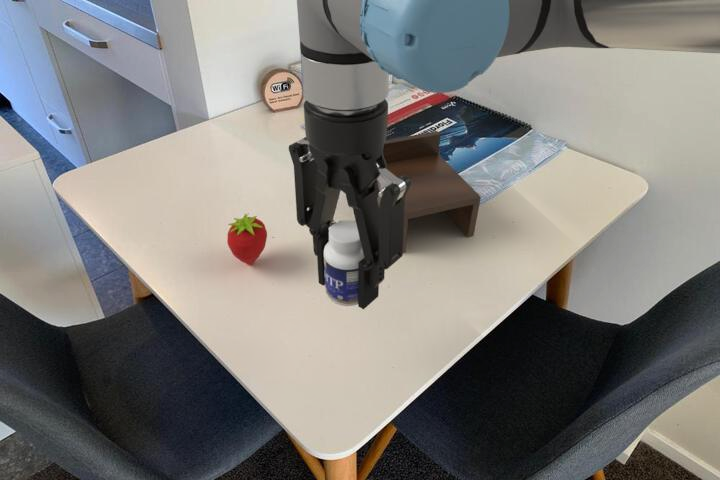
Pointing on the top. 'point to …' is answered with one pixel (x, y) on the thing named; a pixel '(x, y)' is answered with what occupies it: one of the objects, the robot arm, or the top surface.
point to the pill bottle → (342, 263)
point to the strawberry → (247, 239)
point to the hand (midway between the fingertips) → (348, 289)
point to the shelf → (430, 182)
